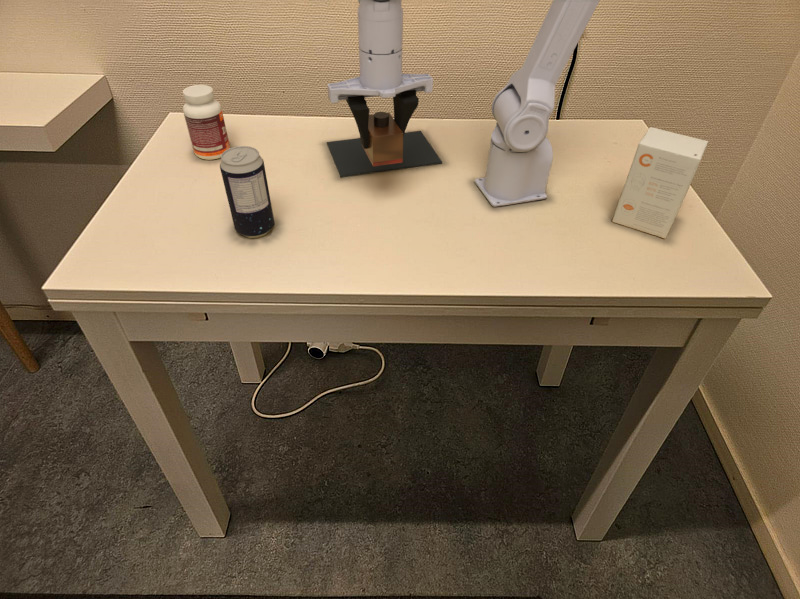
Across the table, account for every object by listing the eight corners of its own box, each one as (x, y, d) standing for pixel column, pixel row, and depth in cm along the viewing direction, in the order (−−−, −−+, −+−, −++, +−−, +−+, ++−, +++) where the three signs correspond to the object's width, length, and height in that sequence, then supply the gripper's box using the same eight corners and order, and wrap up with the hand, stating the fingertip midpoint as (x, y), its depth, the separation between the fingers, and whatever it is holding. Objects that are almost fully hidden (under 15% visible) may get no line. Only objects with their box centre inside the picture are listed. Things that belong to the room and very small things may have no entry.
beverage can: (282, 222, 79) (270, 148, 71) (263, 244, 75) (247, 169, 67) (248, 215, 80) (232, 141, 72) (228, 236, 76) (208, 161, 68)
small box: (674, 219, 82) (710, 140, 73) (665, 240, 78) (702, 159, 69) (621, 202, 85) (650, 125, 76) (610, 222, 81) (638, 142, 72)
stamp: (389, 140, 83) (389, 103, 79) (402, 162, 78) (403, 123, 74) (361, 144, 82) (360, 106, 78) (373, 166, 77) (372, 127, 73)
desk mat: (420, 132, 101) (420, 130, 101) (442, 163, 93) (442, 161, 92) (326, 144, 97) (326, 141, 97) (340, 177, 89) (340, 175, 88)
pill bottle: (236, 155, 93) (222, 92, 86) (201, 164, 91) (184, 101, 83) (223, 140, 97) (209, 79, 89) (190, 149, 94) (172, 87, 87)
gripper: (332, 63, 65) (339, 163, 75) (443, 53, 68) (436, 149, 78) (321, 44, 70) (329, 139, 79) (425, 35, 73) (420, 128, 83)
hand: (381, 143), depth 79 cm, fingers closed on stamp, 4 cm apart
